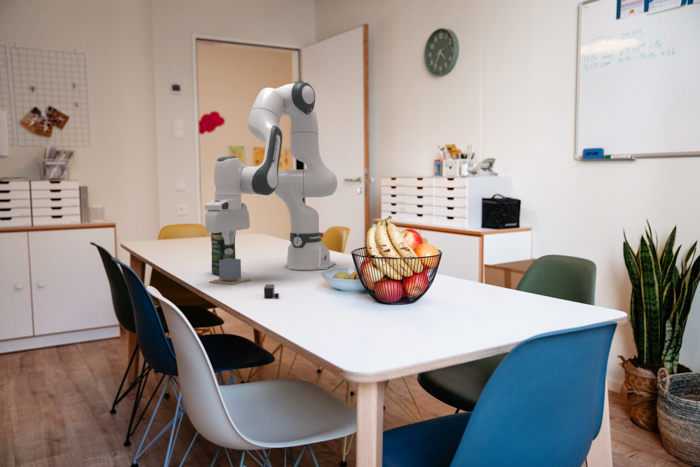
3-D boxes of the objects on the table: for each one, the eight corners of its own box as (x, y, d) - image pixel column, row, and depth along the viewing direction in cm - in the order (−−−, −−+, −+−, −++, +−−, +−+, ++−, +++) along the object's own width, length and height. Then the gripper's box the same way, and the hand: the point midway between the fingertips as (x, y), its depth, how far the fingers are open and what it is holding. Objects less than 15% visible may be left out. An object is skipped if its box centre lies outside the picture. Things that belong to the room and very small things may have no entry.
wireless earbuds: (263, 299, 170) (263, 288, 169) (266, 294, 177) (265, 284, 176) (278, 298, 170) (278, 288, 170) (280, 294, 177) (280, 284, 176)
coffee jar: (208, 273, 215) (207, 224, 213) (227, 271, 220) (226, 223, 218) (219, 276, 208) (218, 225, 206) (239, 274, 212) (238, 224, 211)
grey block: (228, 276, 201) (228, 258, 201) (241, 277, 199) (240, 259, 198) (219, 279, 196) (219, 260, 196) (231, 280, 194) (231, 261, 194)
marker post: (227, 278, 204) (227, 258, 204) (250, 280, 200) (250, 260, 200) (209, 282, 195) (208, 262, 195) (233, 284, 191) (232, 264, 191)
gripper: (239, 202, 206) (240, 240, 207) (201, 205, 188) (202, 246, 189) (253, 202, 203) (254, 241, 205) (216, 205, 185) (217, 247, 186)
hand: (229, 244), depth 197 cm, fingers closed
